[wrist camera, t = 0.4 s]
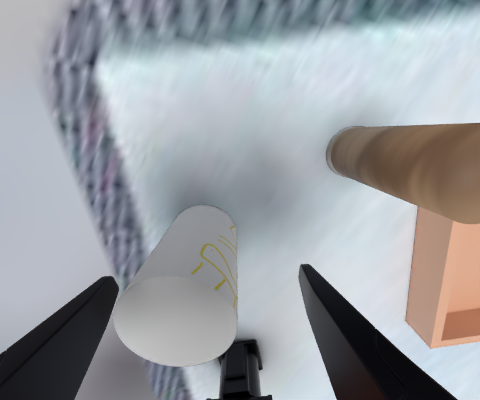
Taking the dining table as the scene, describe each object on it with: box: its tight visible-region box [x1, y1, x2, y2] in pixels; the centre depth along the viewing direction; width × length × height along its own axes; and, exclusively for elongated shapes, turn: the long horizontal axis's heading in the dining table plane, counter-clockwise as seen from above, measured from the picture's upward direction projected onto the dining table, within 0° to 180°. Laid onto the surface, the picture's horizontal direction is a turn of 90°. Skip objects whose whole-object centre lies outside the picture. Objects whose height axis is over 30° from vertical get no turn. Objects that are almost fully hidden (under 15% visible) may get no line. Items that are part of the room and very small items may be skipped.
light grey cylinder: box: [113, 205, 238, 367], centre depth 19 cm, size 8×8×12 cm
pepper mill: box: [326, 123, 480, 224], centre depth 15 cm, size 5×5×12 cm
